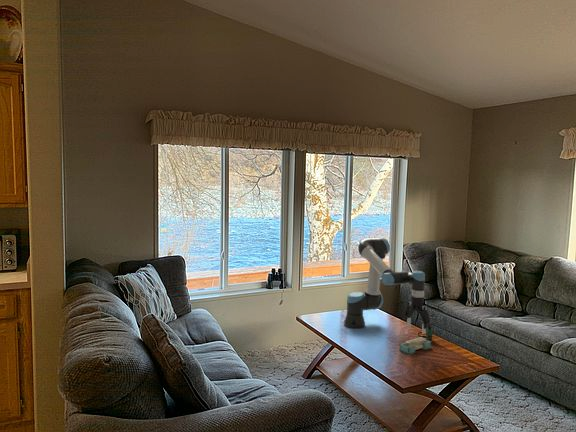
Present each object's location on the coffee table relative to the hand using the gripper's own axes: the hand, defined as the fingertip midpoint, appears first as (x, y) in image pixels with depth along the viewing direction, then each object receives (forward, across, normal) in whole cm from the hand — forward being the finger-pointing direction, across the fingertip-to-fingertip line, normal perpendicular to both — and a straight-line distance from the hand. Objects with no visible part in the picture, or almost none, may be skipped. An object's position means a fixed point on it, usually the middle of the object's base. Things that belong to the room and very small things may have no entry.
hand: (416, 330), depth 272 cm
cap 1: (+12, 0, -8) cm, 14 cm away
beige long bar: (+11, 0, 0) cm, 11 cm away
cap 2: (+12, 0, +8) cm, 14 cm away
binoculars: (+12, -7, +18) cm, 23 cm away
